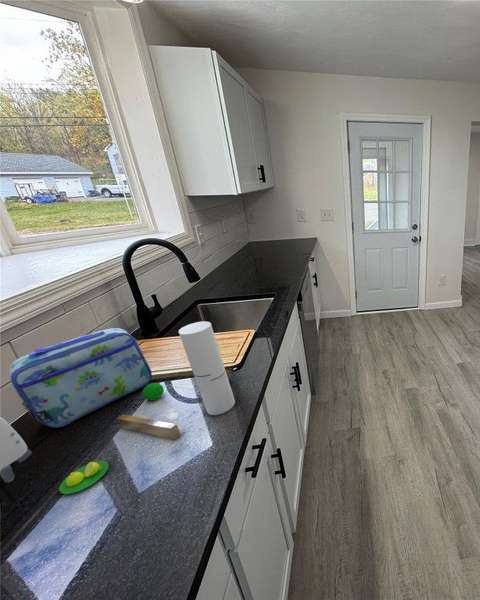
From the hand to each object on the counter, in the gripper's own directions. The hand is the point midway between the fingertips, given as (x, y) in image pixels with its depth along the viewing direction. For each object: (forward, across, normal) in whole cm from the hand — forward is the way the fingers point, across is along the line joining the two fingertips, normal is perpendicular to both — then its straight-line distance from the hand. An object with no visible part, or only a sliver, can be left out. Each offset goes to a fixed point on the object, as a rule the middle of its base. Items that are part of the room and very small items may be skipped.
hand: (9, 500), depth 57 cm
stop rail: (+7, -24, +1) cm, 25 cm away
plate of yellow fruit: (+7, -10, 0) cm, 12 cm away
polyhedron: (+7, -35, -11) cm, 37 cm away
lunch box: (+7, -30, -26) cm, 40 cm away
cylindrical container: (+7, -36, +12) cm, 38 cm away
